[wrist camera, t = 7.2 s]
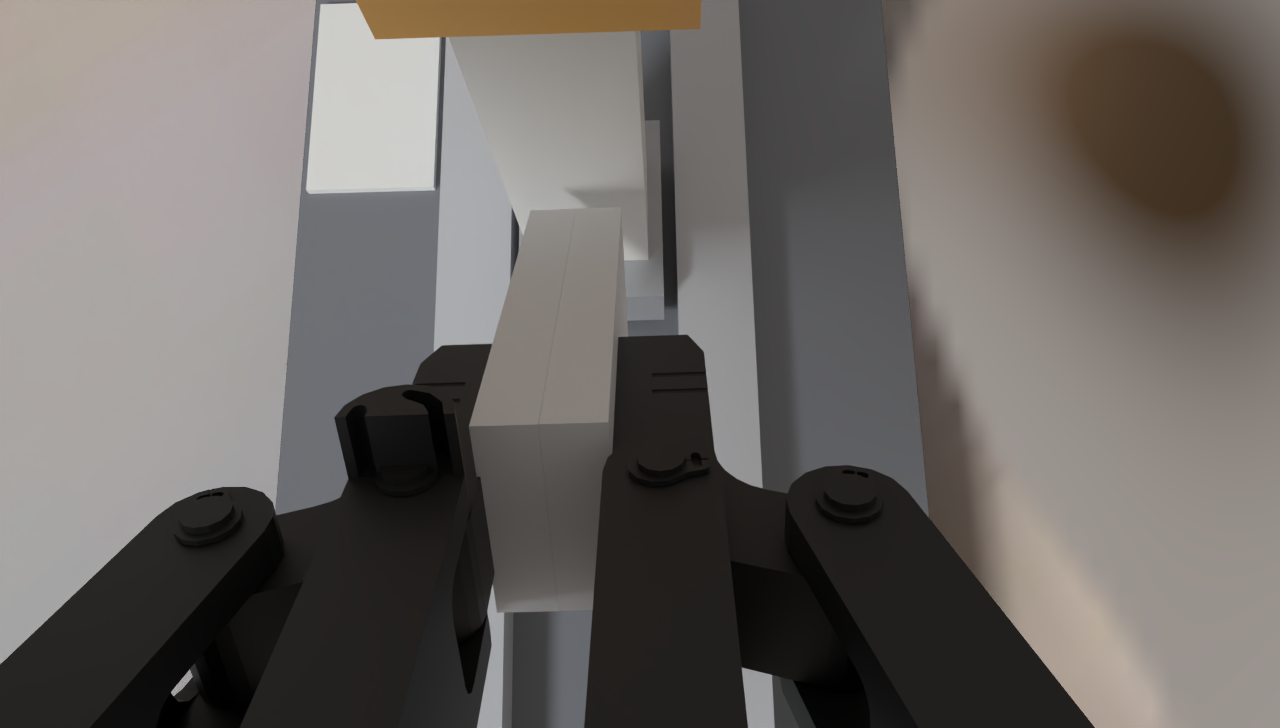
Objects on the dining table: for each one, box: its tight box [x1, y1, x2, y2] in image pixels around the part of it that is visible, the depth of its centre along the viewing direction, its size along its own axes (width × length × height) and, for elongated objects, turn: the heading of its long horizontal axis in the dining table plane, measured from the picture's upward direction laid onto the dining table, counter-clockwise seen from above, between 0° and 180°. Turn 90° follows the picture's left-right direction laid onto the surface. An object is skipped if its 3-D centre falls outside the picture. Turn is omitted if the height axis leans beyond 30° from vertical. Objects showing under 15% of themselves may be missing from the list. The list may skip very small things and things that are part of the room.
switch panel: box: [275, 0, 929, 728], centre depth 22 cm, size 26×14×4 cm, turn 1°
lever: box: [356, 0, 702, 321], centre depth 16 cm, size 4×4×12 cm
